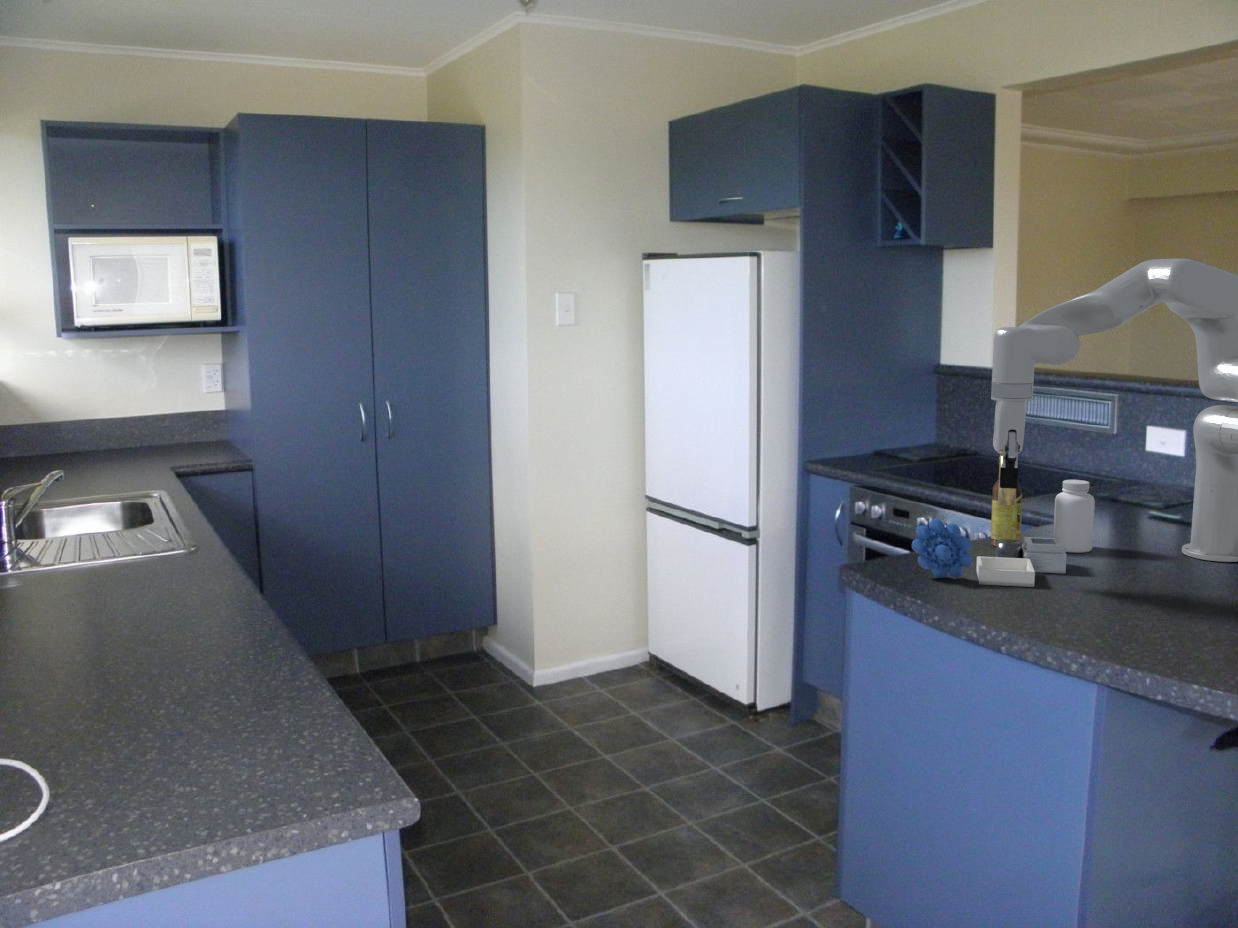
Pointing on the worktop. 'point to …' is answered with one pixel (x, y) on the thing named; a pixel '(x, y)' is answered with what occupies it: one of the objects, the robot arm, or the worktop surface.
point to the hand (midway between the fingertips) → (1007, 485)
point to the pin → (1005, 489)
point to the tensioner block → (1035, 553)
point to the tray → (1005, 571)
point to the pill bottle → (1074, 516)
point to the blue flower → (942, 549)
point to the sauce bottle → (1006, 517)
